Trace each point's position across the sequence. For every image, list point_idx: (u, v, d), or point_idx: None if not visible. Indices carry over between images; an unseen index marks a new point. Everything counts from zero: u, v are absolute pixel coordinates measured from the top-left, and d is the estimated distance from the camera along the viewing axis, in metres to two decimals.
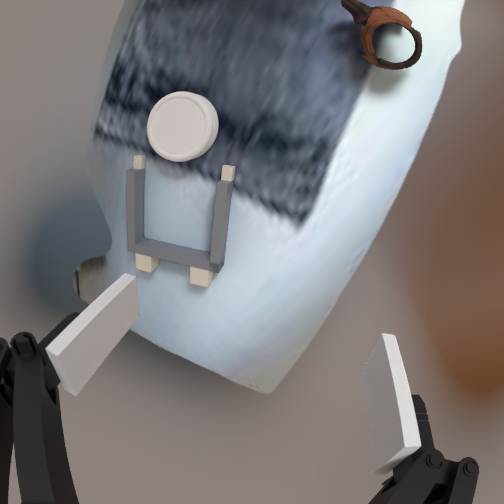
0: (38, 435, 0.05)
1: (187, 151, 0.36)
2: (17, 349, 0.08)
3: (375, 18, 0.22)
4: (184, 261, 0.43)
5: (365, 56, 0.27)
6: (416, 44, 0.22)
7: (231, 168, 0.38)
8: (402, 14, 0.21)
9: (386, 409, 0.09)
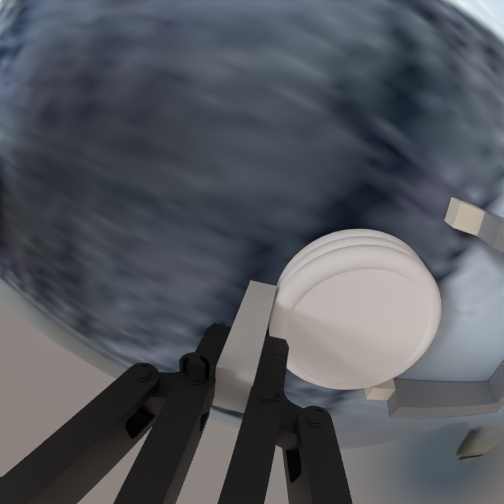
0: (170, 468, 0.06)
1: (425, 316, 0.13)
2: (184, 367, 0.09)
3: None
4: None
5: None
6: None
7: (462, 206, 0.12)
8: None
9: None
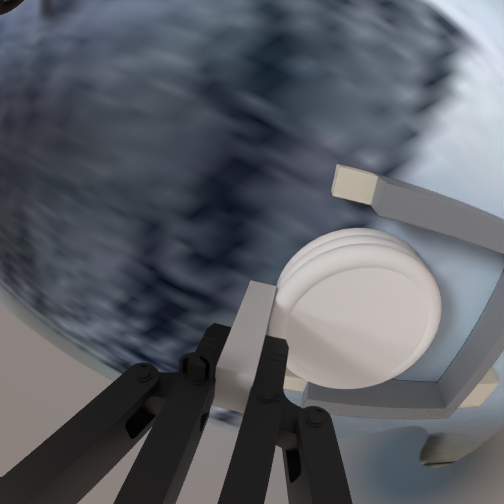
0: (169, 469, 0.06)
1: (425, 313, 0.13)
2: (184, 367, 0.09)
3: None
4: None
5: None
6: None
7: (341, 171, 0.13)
8: None
9: None
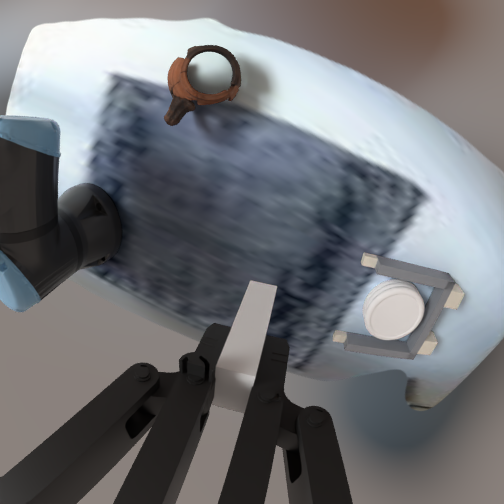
0: (169, 468, 0.06)
1: (418, 309, 0.37)
2: (184, 367, 0.09)
3: (185, 92, 0.29)
4: (437, 311, 0.37)
5: (231, 97, 0.32)
6: (204, 51, 0.26)
7: (365, 257, 0.38)
8: (172, 67, 0.28)
9: None
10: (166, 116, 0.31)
